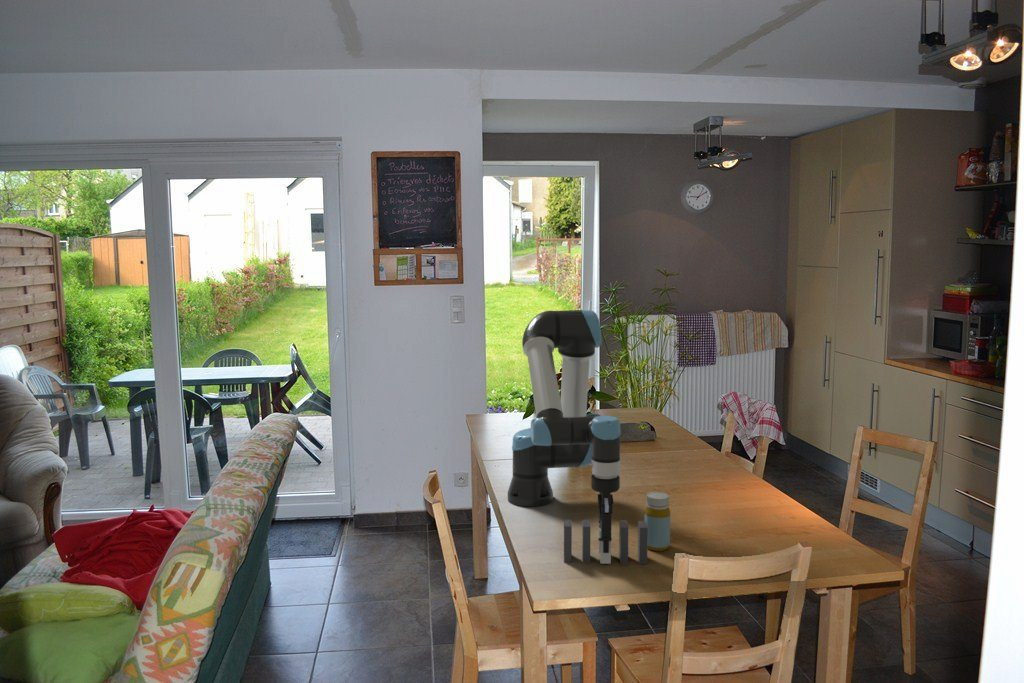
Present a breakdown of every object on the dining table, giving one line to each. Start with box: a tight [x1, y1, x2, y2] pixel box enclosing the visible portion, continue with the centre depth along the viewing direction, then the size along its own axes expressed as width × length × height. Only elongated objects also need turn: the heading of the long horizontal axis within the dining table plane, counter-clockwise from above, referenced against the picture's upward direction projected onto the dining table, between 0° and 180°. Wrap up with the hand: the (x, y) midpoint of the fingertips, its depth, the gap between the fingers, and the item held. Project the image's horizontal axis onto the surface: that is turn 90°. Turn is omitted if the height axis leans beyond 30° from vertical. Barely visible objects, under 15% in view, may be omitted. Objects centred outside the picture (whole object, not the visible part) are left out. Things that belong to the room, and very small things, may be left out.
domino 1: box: [563, 519, 573, 563], centre depth 206 cm, size 2×5×10 cm, turn 177°
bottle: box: [644, 491, 671, 552], centre depth 213 cm, size 7×7×15 cm
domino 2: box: [581, 519, 591, 564], centre depth 206 cm, size 2×5×10 cm, turn 176°
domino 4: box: [637, 520, 648, 565], centre depth 205 cm, size 2×5×10 cm, turn 176°
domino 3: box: [618, 520, 629, 564], centre depth 205 cm, size 2×5×10 cm, turn 176°
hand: (604, 557), depth 206 cm, fingers open, 6 cm apart
